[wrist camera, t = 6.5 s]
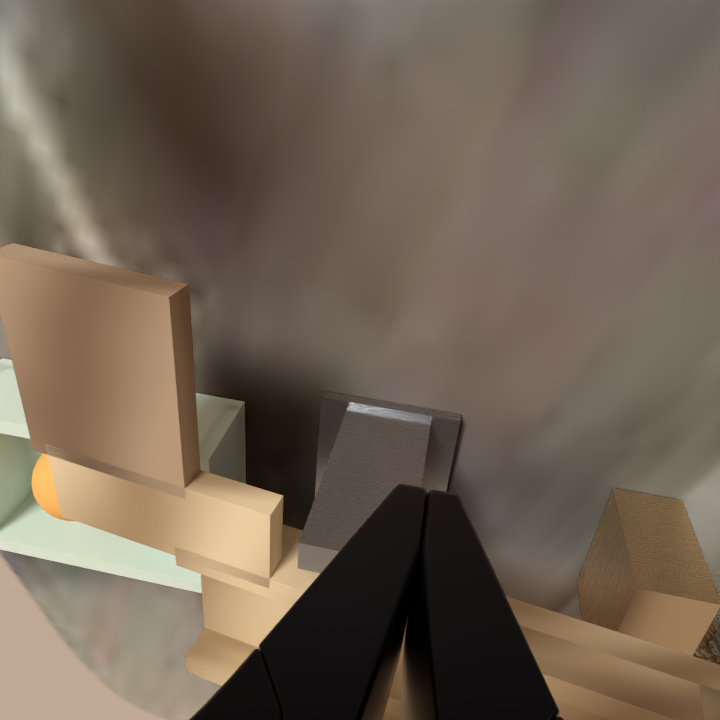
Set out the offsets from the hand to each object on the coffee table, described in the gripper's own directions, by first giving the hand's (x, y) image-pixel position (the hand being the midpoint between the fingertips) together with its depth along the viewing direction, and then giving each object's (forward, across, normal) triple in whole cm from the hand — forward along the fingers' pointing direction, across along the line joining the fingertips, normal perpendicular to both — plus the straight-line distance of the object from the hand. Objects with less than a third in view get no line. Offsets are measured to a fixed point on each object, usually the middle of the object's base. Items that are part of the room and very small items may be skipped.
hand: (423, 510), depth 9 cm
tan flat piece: (+6, +1, +7) cm, 10 cm away
